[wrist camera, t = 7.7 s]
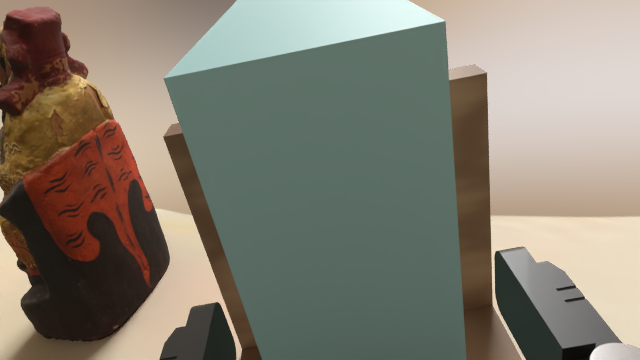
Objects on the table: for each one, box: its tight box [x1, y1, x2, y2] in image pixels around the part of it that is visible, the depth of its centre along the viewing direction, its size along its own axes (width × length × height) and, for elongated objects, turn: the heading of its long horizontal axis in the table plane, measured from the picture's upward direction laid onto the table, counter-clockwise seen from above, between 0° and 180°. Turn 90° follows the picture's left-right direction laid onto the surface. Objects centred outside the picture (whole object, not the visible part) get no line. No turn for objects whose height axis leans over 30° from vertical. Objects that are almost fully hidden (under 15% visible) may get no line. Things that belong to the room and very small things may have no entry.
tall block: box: [164, 0, 467, 360], centre depth 16 cm, size 4×12×18 cm, turn 2°
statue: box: [0, 7, 170, 341], centre depth 30 cm, size 12×8×20 cm, turn 164°
